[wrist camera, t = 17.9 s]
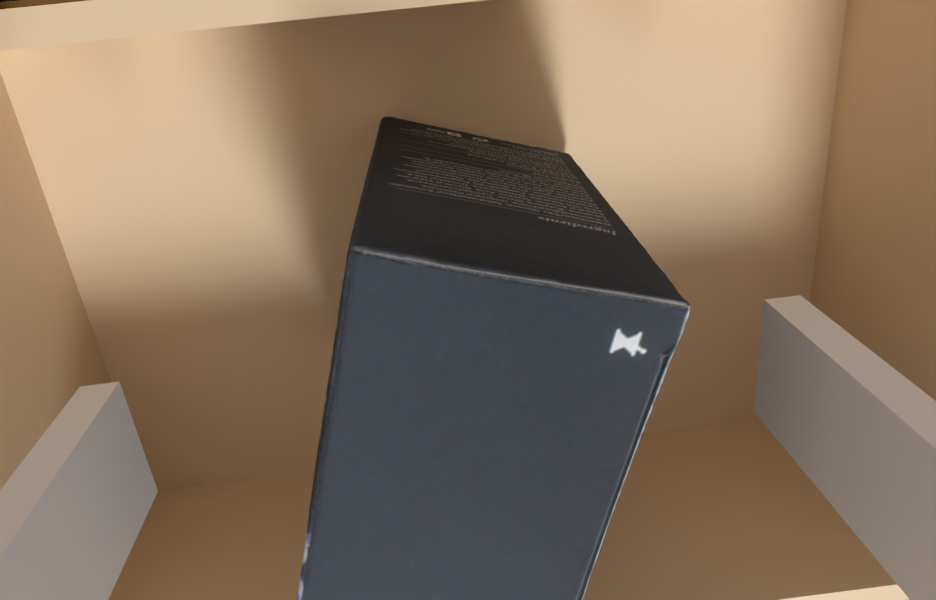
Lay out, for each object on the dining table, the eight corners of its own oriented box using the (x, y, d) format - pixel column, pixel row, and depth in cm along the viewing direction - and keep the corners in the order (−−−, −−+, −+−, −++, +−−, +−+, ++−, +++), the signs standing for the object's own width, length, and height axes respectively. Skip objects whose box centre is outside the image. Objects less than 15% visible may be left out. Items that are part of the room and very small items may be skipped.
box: (377, 111, 20) (346, 239, 10) (571, 150, 21) (711, 303, 11) (340, 354, 23) (287, 630, 13) (509, 379, 24) (575, 655, 14)
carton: (152, 500, 26) (38, 731, 18) (-32, -10, 19) (-355, 1, 11) (810, 421, 27) (979, 609, 19) (882, -103, 19) (1206, -155, 11)
